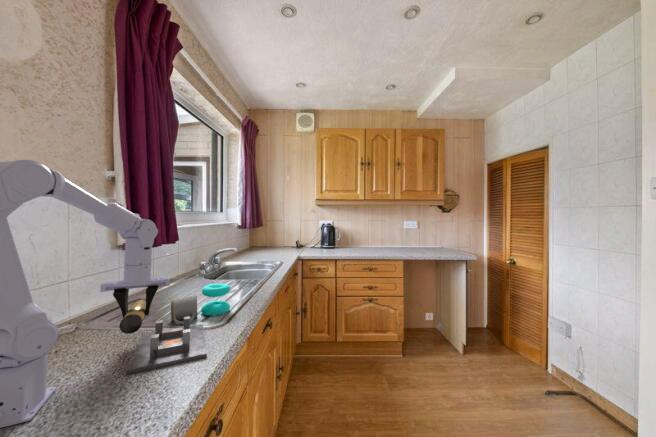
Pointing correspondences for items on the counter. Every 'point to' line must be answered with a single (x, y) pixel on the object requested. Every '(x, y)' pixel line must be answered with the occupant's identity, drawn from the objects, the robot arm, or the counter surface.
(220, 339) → the counter surface
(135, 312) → the brass tube
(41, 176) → the robot arm
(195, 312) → the ceramic mug
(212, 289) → the donuts
